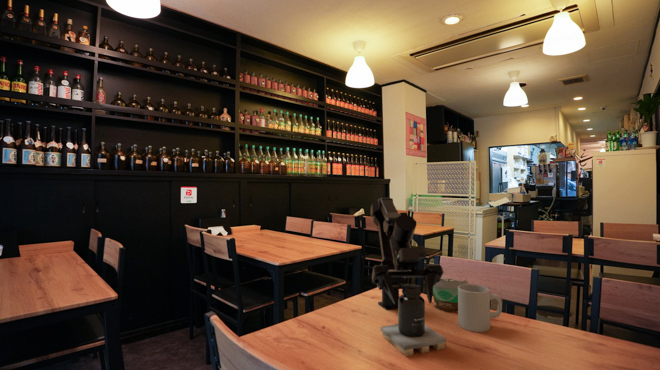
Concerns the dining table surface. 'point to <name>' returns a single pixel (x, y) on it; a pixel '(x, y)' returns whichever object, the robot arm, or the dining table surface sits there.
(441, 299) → the food container
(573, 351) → the dining table surface
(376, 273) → the robot arm
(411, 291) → the supplement bottle
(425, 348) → the plate
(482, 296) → the mug
